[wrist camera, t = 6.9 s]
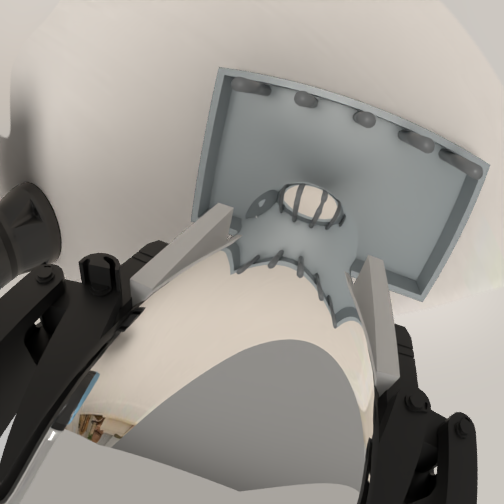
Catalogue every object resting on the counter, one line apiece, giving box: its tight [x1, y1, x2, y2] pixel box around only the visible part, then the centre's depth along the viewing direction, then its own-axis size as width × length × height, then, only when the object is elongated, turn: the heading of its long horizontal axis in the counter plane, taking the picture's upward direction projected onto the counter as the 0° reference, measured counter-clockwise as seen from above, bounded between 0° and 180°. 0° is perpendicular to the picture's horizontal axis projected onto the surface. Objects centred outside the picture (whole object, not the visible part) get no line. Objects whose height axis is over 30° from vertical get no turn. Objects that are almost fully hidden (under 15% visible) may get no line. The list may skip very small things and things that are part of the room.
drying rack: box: [191, 67, 490, 302], centre depth 21 cm, size 23×14×8 cm, turn 77°
